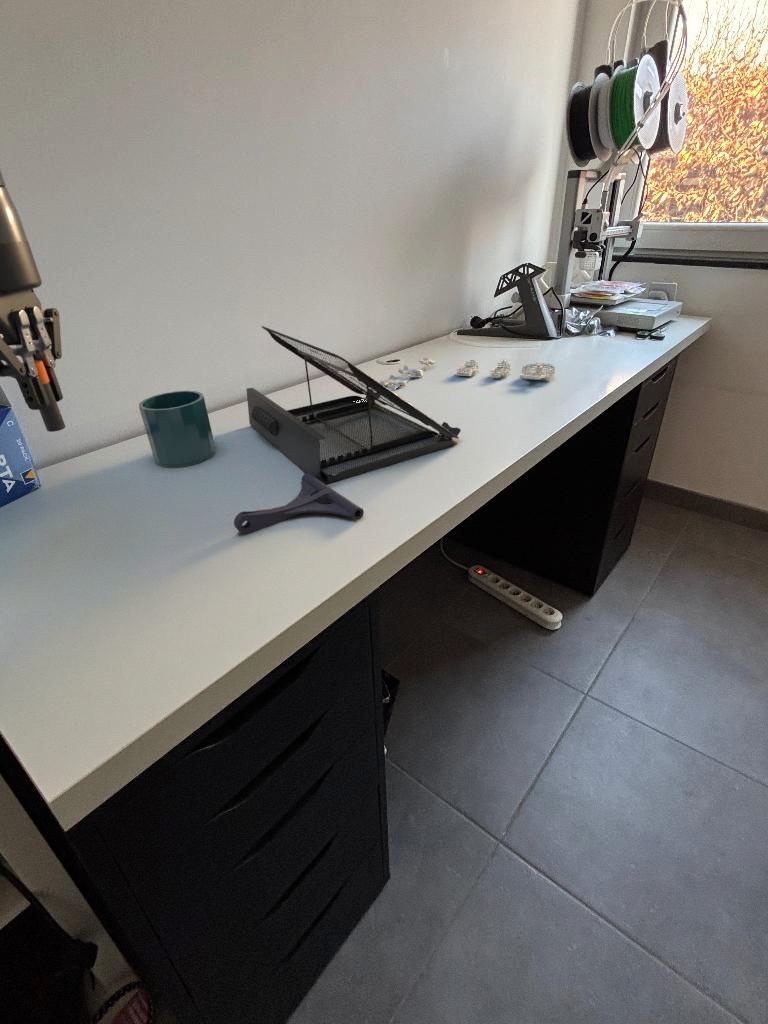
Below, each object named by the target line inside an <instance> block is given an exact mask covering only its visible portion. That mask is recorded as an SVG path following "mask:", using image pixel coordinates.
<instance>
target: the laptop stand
mask: <svg viewBox="0 0 768 1024" xmlns="http://www.w3.org/2000/svg"><path fill="white" fill-rule="evenodd" d="M261 328H262V330H265V331H266V332H267V333H268V334H269V335H270V337H271V338H272V339H273V340H274V341H275V343H277V344H278V345H280V346H282V347H283V348H285V349H286V350H288V351H290V352H291V353H293V354H294V355H296V356H297V357H299V358H300V359H301V360H303V361H304V365H305V372H306V373H305V374H306V382H307V389H308V390H307V391H308V396H309V405H305V406H300V407H296V408H291V409H287V410H286V409H285V408H284V407H282V406H281V405H280V404H277V403H276V402H274V401H273V400H272V399H270V397H267V396H266V395H264V394H263V393H261V392H260V391H258V390H257V389H256V388H254V387H248V388H246V390H245V391H246V399H247V412H248V421H249V425H250V426H251V428H253V430H255V431H256V432H257V433H258V434H259V435H261V436H262V437H263V438H264V439H266V441H268V442H269V443H270V444H271V445H272V446H274V447H275V448H276V449H277V450H278V451H279V452H280V453H282V455H284V456H285V457H286V458H288V459H289V460H290V461H291V462H292V463H293V464H294V465H296V466H297V467H298V468H299V469H300V470H302V471H303V472H304V474H306V473H308V474H310V475H312V476H313V477H315V478H316V479H318V480H319V481H321V482H322V483H324V484H325V485H327V484H331V483H335V482H338V481H340V480H343V479H346V478H349V477H353V476H356V475H359V474H363V473H366V472H370V471H373V470H377V469H379V468H380V469H381V468H382V467H386V466H389V465H392V464H396V463H399V462H403V461H407V460H409V459H412V458H415V457H416V458H417V457H420V456H422V455H426V454H429V453H432V452H435V451H439V450H443V449H447V448H450V447H452V446H456V445H458V442H456V441H455V440H453V439H454V438H455V439H457V440H459V439H460V438H459V434H460V433H461V430H462V429H461V428H459V427H452V426H450V425H449V423H448V422H446V421H443V422H442V424H440V423H439V422H437V421H435V420H434V419H433V418H431V417H430V416H428V415H427V414H426V413H424V412H423V411H421V410H420V409H419V408H416V407H415V406H414V405H412V404H411V403H409V402H408V401H406V400H405V399H404V398H402V397H401V396H399V395H398V394H397V393H395V392H393V391H392V390H390V389H389V388H387V387H386V385H385V386H383V385H382V384H380V381H378V380H376V379H374V377H372V376H370V375H369V374H367V373H366V372H365V371H363V370H361V369H360V368H359V367H357V366H356V365H354V364H352V363H351V362H349V360H347V359H345V358H343V357H342V356H340V355H339V354H336V353H333V352H331V351H329V350H326V349H323V348H320V347H318V346H315V345H313V344H311V343H308V342H305V341H302V340H300V339H297V338H295V337H292V336H289V335H287V334H284V333H282V332H279V331H277V330H274V329H271V328H269V327H266V326H264V325H261ZM305 349H306V350H305ZM308 364H309V365H311V366H313V367H314V368H316V369H317V370H319V371H321V372H322V373H324V374H325V375H327V376H328V377H330V378H331V379H333V380H334V381H336V382H338V383H339V384H341V385H343V386H344V387H345V388H347V389H349V390H350V391H351V392H353V393H356V394H357V395H348V396H343V397H340V398H336V399H330V400H326V401H323V402H318V403H313V402H312V393H311V386H310V377H309V370H308ZM360 395H364V396H365V397H362V396H360ZM361 399H364V401H365V400H366V401H367V402H366V401H365V402H364V401H363V400H361ZM357 400H358V401H357ZM359 400H360V401H361V402H360V403H357V404H355V403H356V401H357V402H359ZM353 401H355V403H352V402H353ZM362 401H363V402H362ZM376 401H377V402H379V403H380V404H379V403H377V402H376ZM350 402H351V403H350ZM345 403H347V404H345ZM341 404H342V405H341ZM338 405H339V406H338ZM382 405H383V406H382ZM385 406H387V407H390V408H391V409H394V410H396V411H398V412H401V413H403V414H405V415H407V416H409V417H411V418H413V419H415V420H417V421H419V422H421V423H422V424H423V425H422V424H420V423H418V422H416V421H413V420H411V419H409V418H407V417H405V416H403V415H401V414H399V413H397V412H395V411H393V410H390V409H388V408H387V407H385ZM328 407H330V408H328ZM379 407H380V408H379ZM324 408H326V409H324ZM381 408H382V409H381ZM321 409H322V410H321ZM383 409H384V410H383ZM385 410H386V411H385ZM389 412H390V413H389ZM336 417H338V421H337V420H336ZM345 418H346V419H345ZM424 425H425V426H428V427H431V428H432V429H433V430H432V429H430V428H427V427H425V426H424ZM321 428H323V429H321ZM341 428H343V429H341ZM328 439H329V440H328ZM334 441H335V442H334ZM366 445H367V446H366ZM334 448H335V449H334ZM355 458H357V459H355ZM351 460H353V461H351ZM357 462H359V463H358V464H357ZM325 467H326V469H325Z"/></svg>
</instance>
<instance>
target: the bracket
mask: <svg viewBox="0 0 768 1024" xmlns="http://www.w3.org/2000/svg"><path fill="white" fill-rule="evenodd" d="M300 484H301V487H300V491H299V493H298V494H297V495H296V497H294V499H292V500H291V501H290V502H288V503H287V504H285V505H281V506H276V507H273V508H267V509H259V510H250V511H249V510H248V511H247V510H246V511H240V512H238V514H237V515H236V516H235V517H234V520H233V525H234V527H235V530H237V531H238V532H239V533H240V534H242V535H246V534H251V533H253V532H256V531H259V530H262V529H265V528H267V527H269V526H272V525H275V524H278V523H280V522H283V521H286V520H288V519H291V518H294V517H297V516H299V515H302V514H306V513H321V514H322V513H324V514H334V515H339V516H342V517H347V518H353V519H354V520H360V519H362V517H363V516H364V513H365V511H364V509H363V508H362V507H360V506H359V505H357V504H356V503H354V502H352V501H351V500H349V499H348V498H347V497H345V496H343V495H342V494H340V493H339V492H338V491H336V490H335V489H333V488H331V487H330V486H329V485H327V484H324V483H322V482H321V481H319V480H318V479H316V478H315V477H313V476H312V475H310V474H308V473H304V474H303V475H302V476H301V482H300ZM245 522H246V523H245ZM244 523H245V524H244Z"/></svg>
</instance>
